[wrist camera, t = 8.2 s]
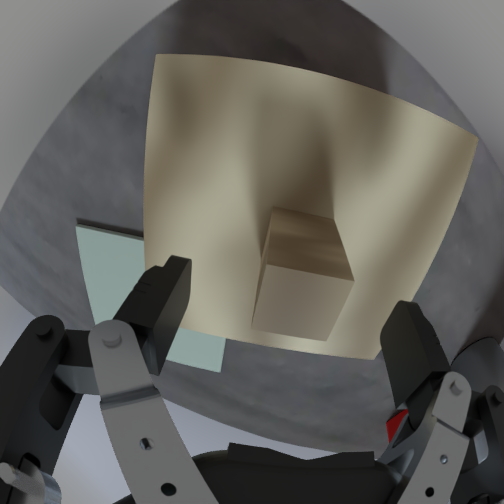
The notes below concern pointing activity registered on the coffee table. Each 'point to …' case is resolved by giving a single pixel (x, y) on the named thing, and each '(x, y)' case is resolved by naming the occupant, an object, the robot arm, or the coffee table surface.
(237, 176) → the lid
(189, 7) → the coffee table surface
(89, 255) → the mat
